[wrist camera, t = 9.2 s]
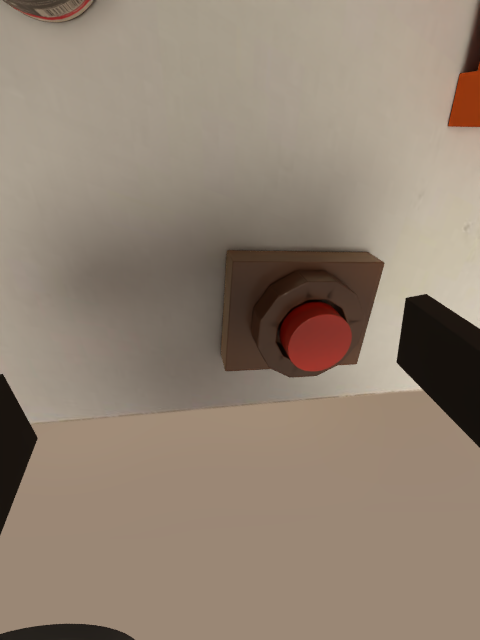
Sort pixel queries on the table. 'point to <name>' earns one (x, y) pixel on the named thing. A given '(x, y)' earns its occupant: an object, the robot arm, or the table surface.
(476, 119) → the orange phone stand
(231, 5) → the table surface
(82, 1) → the pill bottle
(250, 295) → the button block
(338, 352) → the power button
